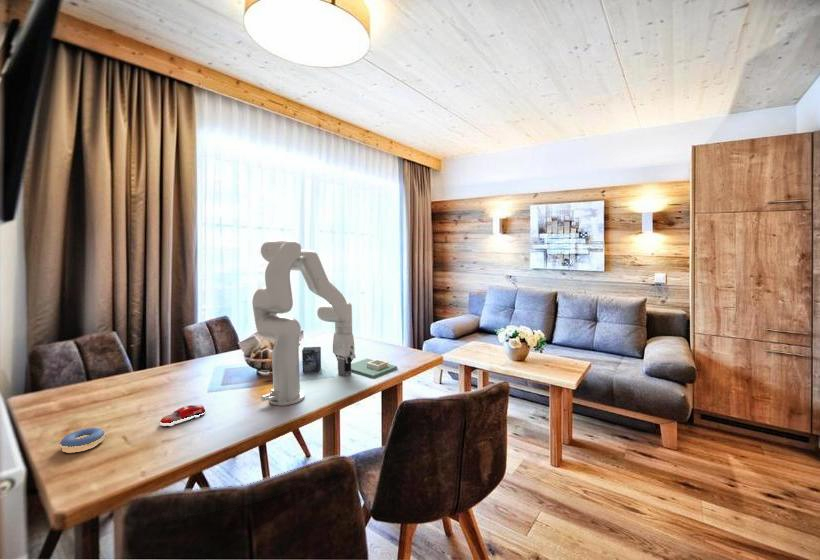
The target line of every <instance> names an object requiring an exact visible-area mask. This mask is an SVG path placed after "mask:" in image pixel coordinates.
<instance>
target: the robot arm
mask: <svg viewBox="0 0 820 560" xmlns="http://www.w3.org/2000/svg"><path fill="white" fill-rule="evenodd" d="M260 253H261V257H262V259H264V260H265V261H266V262H268V264H267V266H266V268H265V271H264V281H265V282H264V283H265V286H262V287H259V288H258V289H257V290H256V291H255V292H254V293H253V297H252V311H253V316H254V323H255V328H256V331H257V334H258V335H259V336H260V337H261V338H263V339H265V340H271V341H275V344H274V345H273V348H272V351H271V361H272V365H271V366H272V385H273V386H272V388H271V389H270V392H269V393H268V394H263V395H261V396H260V400H261V401H262V402H265V401H267V400H268V402H269V403H270V404H271V405H274V406H282V407H283V406H290V405H294V404H297V403H299V402H301V401H303V400H304V399H305V392H303V391H302V390H301V386H300V385H301V383H300V380H301V379H300V355H299V354H300V352H299V350H300V349H299V346H300V337H301V334H302V333H301V332H302V330H301V329H302V328H301V327H302V326H301V324H300V322H299V320H297V319H296V318H295V317H291V316H288V315H280V314H287V313H289V312H291V310H292V309H293V307H294V306H293V305H294V302H293V301H294V300H293V291H292V284H291V271H300V273H301V275H302V276H303V279H304V280H305V283H306V285H307V288H308V289H309V291H311V293H313V294H314V295H316V296H318V297H321V298H322V299H324V300H325V301H327V303H324V304H322V305H320V306H319V307H318V309H317V315H316V316H317V317H318V319H320V320H321V321H324V322H327V323H328V322H329V323H334V333H333V337H332V354H333V355H334V356H335V357H336V362H338V357H339V356H342V357H345V361H346V363H345V372H348V371H351V364H352V361H353V360H355V358H357V357H356V354H355V338H354V334H353V311H352V310H353V307H352V303H351V302H349V301H347V299H346V298H345V297H344V295H343V293H341V291H340V290H339V289H338V288H337V287H336V286H335V285H334V284H333V283H332V282H331V281H330V280H329V279H328V276H327V274H326V272H325V269H324V267H323V264H322V262H321V260H320V256H319V255H318V253H317V252H316V251H315V250H312V249H302V246H301V243H299V242H298V241H297V240H295V239H270V240H267V241H265V242H264V243H263V244H262V246H261V247H260ZM278 314H279V315H278ZM348 357H349V359H348Z"/></svg>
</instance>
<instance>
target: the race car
mask: <svg viewBox="0 0 820 560" xmlns="http://www.w3.org/2000/svg"><path fill="white" fill-rule="evenodd" d="M204 412H205V413H206V409H205V407H204V406H203V405H202V404H196V405H195V404H192V405H185V406H183V407H180V408H178V409H176V410H174V411H173V412H172V413H170V414H169V415H165V416H164V417H162V418H161V419H160V421H159V423H160V422H162V423H171V422H173V421H177V420H180V419H184V418H187V417H191V416H194V415H199V414H202V413H204Z"/></svg>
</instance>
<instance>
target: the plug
mask: <svg viewBox="0 0 820 560" xmlns="http://www.w3.org/2000/svg"><path fill="white" fill-rule="evenodd" d="M348 359H349V357H348ZM345 363H346V361H345V357H342V356H339V357H338V361H337V370H338V371H337V373H338V375H339V376H342V377H346V376H350V375H351V374H352V372H351V371H348V372H345Z"/></svg>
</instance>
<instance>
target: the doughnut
mask: <svg viewBox="0 0 820 560" xmlns="http://www.w3.org/2000/svg"><path fill="white" fill-rule="evenodd" d="M104 433H105V431H104V429H102V428H100V427H89V428H84V429H79V430H77V431H73V432H70V433H69V434H67V435H66V436H64V437H63V438H62V439H61V441H60V443H59V445H60V444H61V445H62V446H68V447H70V446H71V447H72V446H73V447H74V446H81V445H85V444H89V443H91V442H94V441H96V440H98V439H100V438H101V437H102V436H103V435H104ZM105 434H106V433H105ZM83 435H89V436H87V437H84V438H80V439H75V438H77V437H80V436H83Z"/></svg>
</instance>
